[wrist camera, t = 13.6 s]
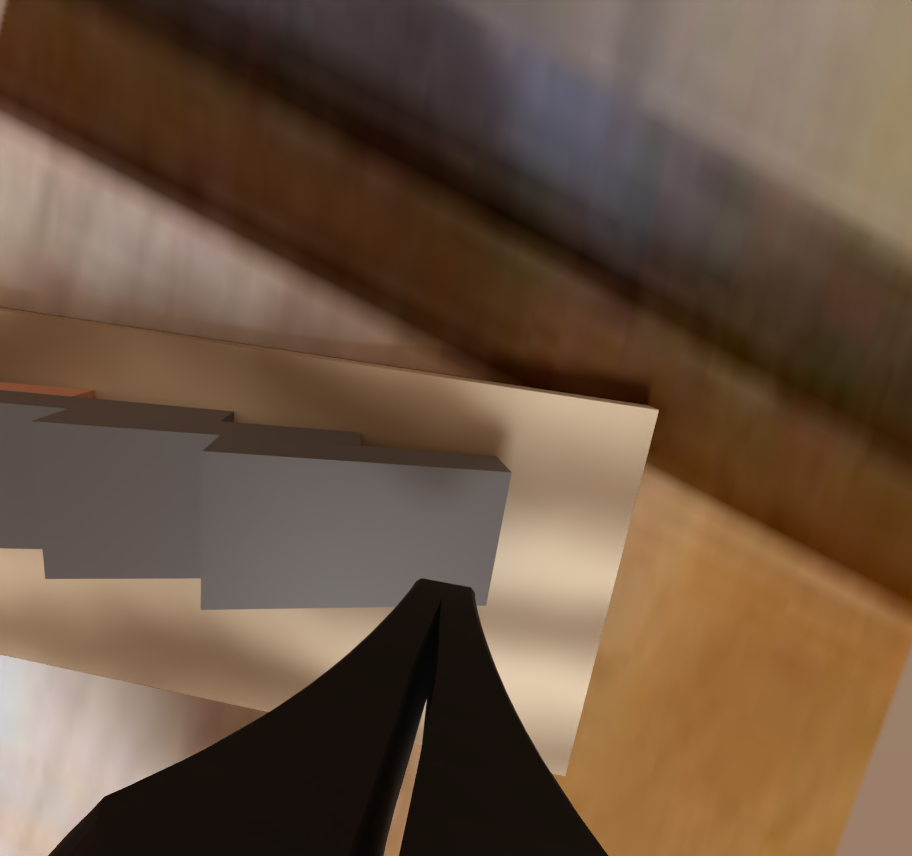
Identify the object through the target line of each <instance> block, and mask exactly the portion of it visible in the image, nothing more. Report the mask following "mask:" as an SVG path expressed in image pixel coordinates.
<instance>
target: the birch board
mask: <svg viewBox="0 0 912 856" xmlns="http://www.w3.org/2000/svg"><path fill="white" fill-rule="evenodd" d="M0 382H7V383H19V384H30V385H42V386H54V387H66V388H78V389H90V390H94V397H95V399H104V400H115V401H126V402H137V403H148V404H159V405H170V406H180V407H191V408H202V409H213V410H224V411H234V422H237V423H249V424H261V425H274V426H286V427H298V428H310V429H323V430H335V431H347V432H360V434H361V446H370V447H383V448H395V449H408V450H421V451H434V452H447V453H459V454H472V455H485V456H497V457H498V458H499V459H500V461H501V462H502V463H503V464H504V465H505V466H506V467H507V468H508V469H509V470H510V471H511V472H512V474H511V479H510V484H509V489H508V495H507V500H506V505H505V510H504V515H503V521H502V526H501V531H500V536H499V541H498V547H497V552H496V557H495V562H494V567H493V573H492V578H491V583H490V588H489V593H488V599H487V604H486V606H477V610H478V614H479V618H480V622H481V625H482V629H483V632H484V635H485V638H486V641H487V644H488V647H489V650H490V652H491V655H492V658H493V661H494V663H495V666H496V668H497V671H498V673H499V675H500V678H501V680H502V682H503V685H504V687H505V689H506V692H507V694H508V696H509V698H510V700H511V702H512V704H513V706H514V708H515V710H516V712H517V714H518V716H519V718H520V720H521V722H522V724H523V726H524V728H525V729H526V731H527V733H528V735H529V737H530V738H531V740H532V742H533V744H534V745H535V747H536V749H537V751H538V752H539V754H540V756H541V758H542V759H543V761H544V763H545V764H546V766H547V767H548V769H549V770H550V772H551V773H553V774H558V775H562V776H565V775H566V771H567V767H568V763H569V759H570V755H571V751H572V747H573V744H574V740H575V736H576V732H577V728H578V724H579V720H580V716H581V712H582V708H583V705H584V701H585V697H586V693H587V689H588V685H589V681H590V677H591V673H592V669H593V665H594V662H595V658H596V654H597V650H598V646H599V642H600V638H601V634H602V630H603V626H604V623H605V619H606V615H607V611H608V607H609V603H610V599H611V595H612V591H613V587H614V583H615V580H616V576H617V572H618V568H619V564H620V560H621V556H622V552H623V548H624V544H625V540H626V537H627V533H628V529H629V525H630V521H631V517H632V513H633V509H634V505H635V501H636V498H637V494H638V490H639V486H640V482H641V478H642V474H643V470H644V466H645V462H646V458H647V455H648V451H649V447H650V443H651V439H652V435H653V431H654V427H655V423H656V419H657V415H658V412H659V410H657V409H655V408H653V407H651V406H649V405H643V404H637V403H630V402H624V401H617V400H610V399H604V398H597V397H590V396H584V395H577V394H571V393H564V392H557V391H551V390H544V389H538V388H531V387H524V386H518V385H511V384H504V383H498V382H491V381H485V380H478V379H471V378H465V377H458V376H451V375H445V374H438V373H432V372H425V371H418V370H412V369H405V368H398V367H392V366H385V365H379V364H372V363H365V362H359V361H352V360H345V359H339V358H332V357H326V356H319V355H312V354H306V353H299V352H292V351H286V350H279V349H273V348H266V347H259V346H253V345H246V344H240V343H233V342H226V341H220V340H213V339H206V338H200V337H193V336H187V335H180V334H173V333H167V332H160V331H153V330H147V329H140V328H134V327H127V326H120V325H114V324H107V323H100V322H94V321H87V320H81V319H74V318H67V317H61V316H54V315H47V314H41V313H34V312H28V311H21V310H14V309H8V308H1V307H0ZM394 608H395V607H363V608H297V609H232V610H201V578H186V579H45V571H44V560H43V550H42V549H6V548H0V655H5V656H9V657H14V658H19V659H23V660H28V661H33V662H37V663H42V664H47V665H51V666H56V667H61V668H65V669H70V670H75V671H79V672H84V673H88V674H93V675H98V676H102V677H107V678H112V679H116V680H121V681H126V682H130V683H135V684H140V685H144V686H149V687H154V688H158V689H163V690H167V691H172V692H177V693H181V694H186V695H191V696H195V697H200V698H205V699H209V700H214V701H219V702H223V703H228V704H233V705H237V706H242V707H246V708H251V709H256V710H260V711H265V712H270V711H271V710H273V709H274V708H276V707H278V706H279V705H281V704H282V703H283V702H285V701H286V700H288V699H289V698H291V697H292V696H294V695H295V694H297V693H298V692H299V691H301V690H302V689H304V688H305V687H307V686H308V685H309V684H311V683H312V682H313V681H315V680H316V679H317V678H319V677H320V676H321V675H323V674H324V673H325V672H327V671H328V670H329V669H330V668H332V667H333V666H334V665H335V664H336V663H338V662H339V661H340V660H341V659H342V658H344V657H345V656H346V655H347V654H348V653H349V652H350V651H352V650H353V649H354V648H355V647H356V646H357V645H358V644H359V643H360V642H361V641H362V640H364V639H365V638H366V637H367V636H368V635H369V634H370V633H371V632H372V631H373V630H374V629H375V628H376V627H377V626H378V625H379V624H380V623H381V622H382V621H383V620H384V619H385V618H386V617H387V616H388V615H389V614H390V613H391V612H392V610H393V609H394ZM426 701H427V699H426ZM425 710H426V703H425V706H424V710H423V713H422V717H421V720H420V724H419V727H418V731H417V734H416V737H415V741H414V744H418V745H422V739H423V729H424V720H425Z"/></svg>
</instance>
